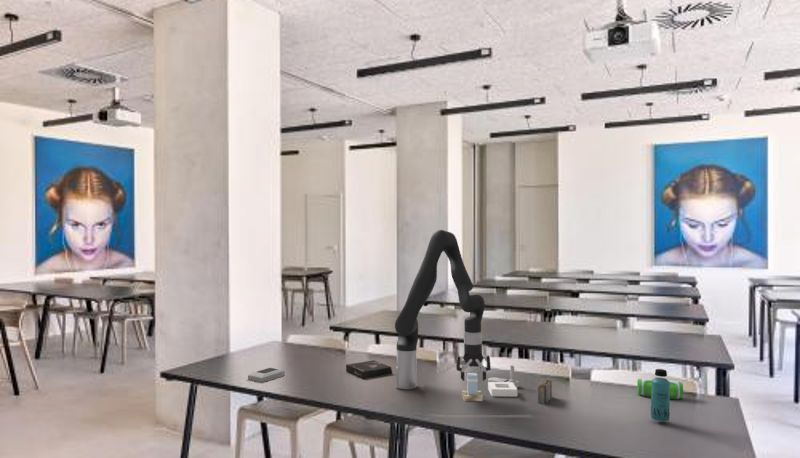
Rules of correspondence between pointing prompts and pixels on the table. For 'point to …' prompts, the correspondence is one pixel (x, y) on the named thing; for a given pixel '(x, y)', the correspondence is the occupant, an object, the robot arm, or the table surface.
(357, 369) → the portable cd player
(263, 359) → the table surface
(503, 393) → the socket
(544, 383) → the marbled rust block
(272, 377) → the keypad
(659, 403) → the beverage bottle
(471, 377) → the plug
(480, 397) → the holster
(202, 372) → the table surface
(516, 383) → the electronic device
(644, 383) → the speaker
